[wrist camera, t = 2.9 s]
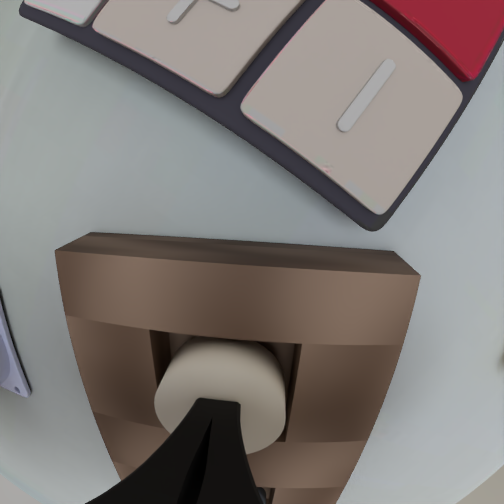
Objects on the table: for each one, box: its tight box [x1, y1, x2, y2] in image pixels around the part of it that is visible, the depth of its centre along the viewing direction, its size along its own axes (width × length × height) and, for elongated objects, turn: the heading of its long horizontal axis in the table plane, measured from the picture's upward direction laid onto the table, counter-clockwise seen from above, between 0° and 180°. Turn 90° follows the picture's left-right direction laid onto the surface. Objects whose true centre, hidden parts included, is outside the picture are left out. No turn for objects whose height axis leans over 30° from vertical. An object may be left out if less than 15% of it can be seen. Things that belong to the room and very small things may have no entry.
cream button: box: [154, 336, 286, 454], centre depth 10 cm, size 4×4×2 cm
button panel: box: [55, 232, 421, 504], centre depth 15 cm, size 12×28×3 cm, turn 177°
